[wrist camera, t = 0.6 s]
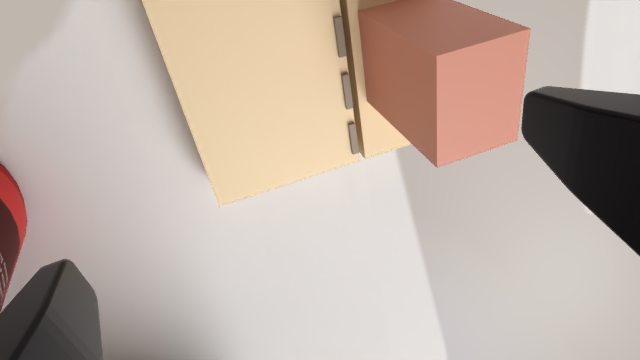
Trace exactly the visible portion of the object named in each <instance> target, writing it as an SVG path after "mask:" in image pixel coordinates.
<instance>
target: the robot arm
mask: <svg viewBox="0 0 640 360" xmlns="http://www.w3.org/2000/svg"><path fill="white" fill-rule="evenodd" d="M522 134H523V136H524V138H525V140H526V141H527V142H528V144H529V145H530V146H531V147H532V148H533V149H534V150H535V152H536V153H537V154H538V155H539V156H540V157H541V158H542V160H543V161H544V162H545V163H546V164H547V165H548V166H549V168H550V169H551V170H552V171H553V172H554V173H555V175H556V176H557V177H558V178H559V179H560V180H561V182H562V183H563V184H564V185H565V186H566V187H567V188H568V189H569V190H570V191H571V192H572V193H573V194H574V195H575V196H576V197H577V198H578V199H579V200H580V201H581V202H582V203H583V204H584V205H585V206H586V207H587V208H588V209H589V210H591V211H592V212H593V213H594V214H595V215H596V216H597V217H598V218H599V219H600V220H601V221H602V222H603V223H605V224H606V225H607V226H608V227H609V228H610V229H611V230H612V231H613V232H614V233H615V234H616V235H617V236H618V237H619V238H621V239H622V240H623V241H624V242H625V243H626V244H627V245H628V246H629V247H630V248H631V249H632V250H633V251H634V252H636V253H637V254H638V255H639V256H640V95H638V94H627V93H616V92H606V91H595V90H584V89H572V88H562V87H552V86H546V87H542V88H539V89H536V90H534V91H531V92H529V93H528V94H527V95H526V96H525V98H524V104H523V117H522ZM0 360H103V350H102V341H101V331H100V321H99V311H98V302H97V297H96V294H95V292H94V290H93V288H92V287H91V286H90V284H89V283H88V282H87V280H86V279H85V278H84V276H83V275H82V274H81V272H80V271H79V270H78V268H77V267H76V266H75V264H74V263H73V262H71V261H70V260H67V259H63V260H60V261H57V262H54V263H51V264H49V265H46V266H43V267H42V268H40V269H39V271H38V272H37V273H36V274H35V275H34V276H33V277H32V278H31V280H30V281H29V282H28V283H27V284H26V285H25V286H24V287H23V289H22V290H21V291H20V292H19V293H18V294H17V295H16V296H15V298H14V299H13V300H12V301H11V302H10V303H9V304H8V306H7V307H6V308H5V309H4V310H3V311H2V312H1V313H0Z"/></svg>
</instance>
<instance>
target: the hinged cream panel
mask: <svg viewBox="0 0 640 360" xmlns="http://www.w3.org/2000/svg"><path fill="white" fill-rule="evenodd" d="M142 3H143V6H144V8H145V11H146V14H147V16H148V19H149V22H150V24H151V27H152V30H153V32H154V35H155V38H156V40H157V43H158V46H159V48H160V51H161V53H162V56H163V59H164V61H165V64H166V67H167V69H168V72H169V75H170V77H171V80H172V83H173V85H174V88H175V91H176V93H177V96H178V99H179V101H180V104H181V107H182V109H183V112H184V115H185V117H186V120H187V122H188V125H189V128H190V130H191V133H192V136H193V138H194V141H195V144H196V146H197V149H198V152H199V154H200V157H201V160H202V162H203V165H204V168H205V170H206V173H207V176H208V178H209V181H210V184H211V186H212V189H213V192H214V194H215V197H216V199H217V202H218V205H219V207H221V206H224V205H227V204H230V203H233V202H236V201H239V200H242V199H245V198H248V197H251V196H254V195H257V194H260V193H263V192H266V191H270V190H273V189H276V188H279V187H282V186H285V185H288V184H291V183H294V182H297V181H300V180H303V179H306V178H309V177H312V176H315V175H318V174H321V173H324V172H328V171H331V170H334V169H337V168H340V167H343V166H346V165H349V164H352V163H355V162H358V161H360V160H359V149H358V141H357V133H356V125H355V120H354V112H353V101H352V93H351V86H350V78H349V73H348V65H347V57H346V56H347V54H346V46H345V38H344V30H343V22H342V16H341V10H340V2H339V0H142Z"/></svg>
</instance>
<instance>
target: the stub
mask: <svg viewBox="0 0 640 360" xmlns="http://www.w3.org/2000/svg"><path fill="white" fill-rule="evenodd" d="M339 2H340V10H341V16H342V22H343V30H344V38H345V46H346V54H347V56H346V57H347V65H348V73H349V78H350V86H351V93H352V101H353V112H354V120H355V125H356V133H357V141H358V149H359V152H360V153H361V154H362V156H363V157H364V158H365V159H367V158H370V157H373V156H376V155H379V154H382V153H385V152H389V151H392V150H395V149H398V148H401V147H404V146H407V145H410V144H413V145H414V146H415V147H416V148H417V149H418V150H419V151H420V152H421V153H422V154H423V155H424V156H425V157H426V158H427V159H428V160H430V161H431V163H433V164H434V165H435V166H436V167H437V168H438V167H441V166H444V165H447V164H450V163H453V162H455V161H458V160H461V159H464V158H467V157H470V156H473V155H476V154H479V153H482V152H485V151H487V150H491V149H493V148H496V147H499V146H502V145H505V144H508V143H511V142H514V141H517V137H518V130H519V121H520V113H521V104H522V96H523V88H524V79H525V71H526V62H527V54H528V45H529V37H530V28H527V27H525V26H522V25H519V24H517V23H514V22H511V21H508V20H505V19H503V18H500V17H497V16H494V15H492V14H489V13H486V12H483V11H481V10H478V9H475V8H472V7H470V6H467V5H464V4H462V3H459V2H456V1H453V0H339Z"/></svg>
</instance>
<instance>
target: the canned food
mask: <svg viewBox="0 0 640 360" xmlns="http://www.w3.org/2000/svg"><path fill="white" fill-rule="evenodd" d="M26 226H27V217H26V210H25V205H24V200H23V197H22V194H21V192H20V190H19V187H18V185H17V183H16V182H15V180H14V179H13V178H12V176H11V175H10V173H9V172H8V171H7V170H6V169H5V168H4V167H3V166H2V165H1V164H0V311H1V308H2V305H3V302H4V299H5V296H6V293H7V290H8V287H9V284H10V281H11V277H12V274H13V271H14V268H15V265H16V262H17V259H18V256H19V253H20V250H21V246H22V243H23V240H24V237H25V233H26Z"/></svg>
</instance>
